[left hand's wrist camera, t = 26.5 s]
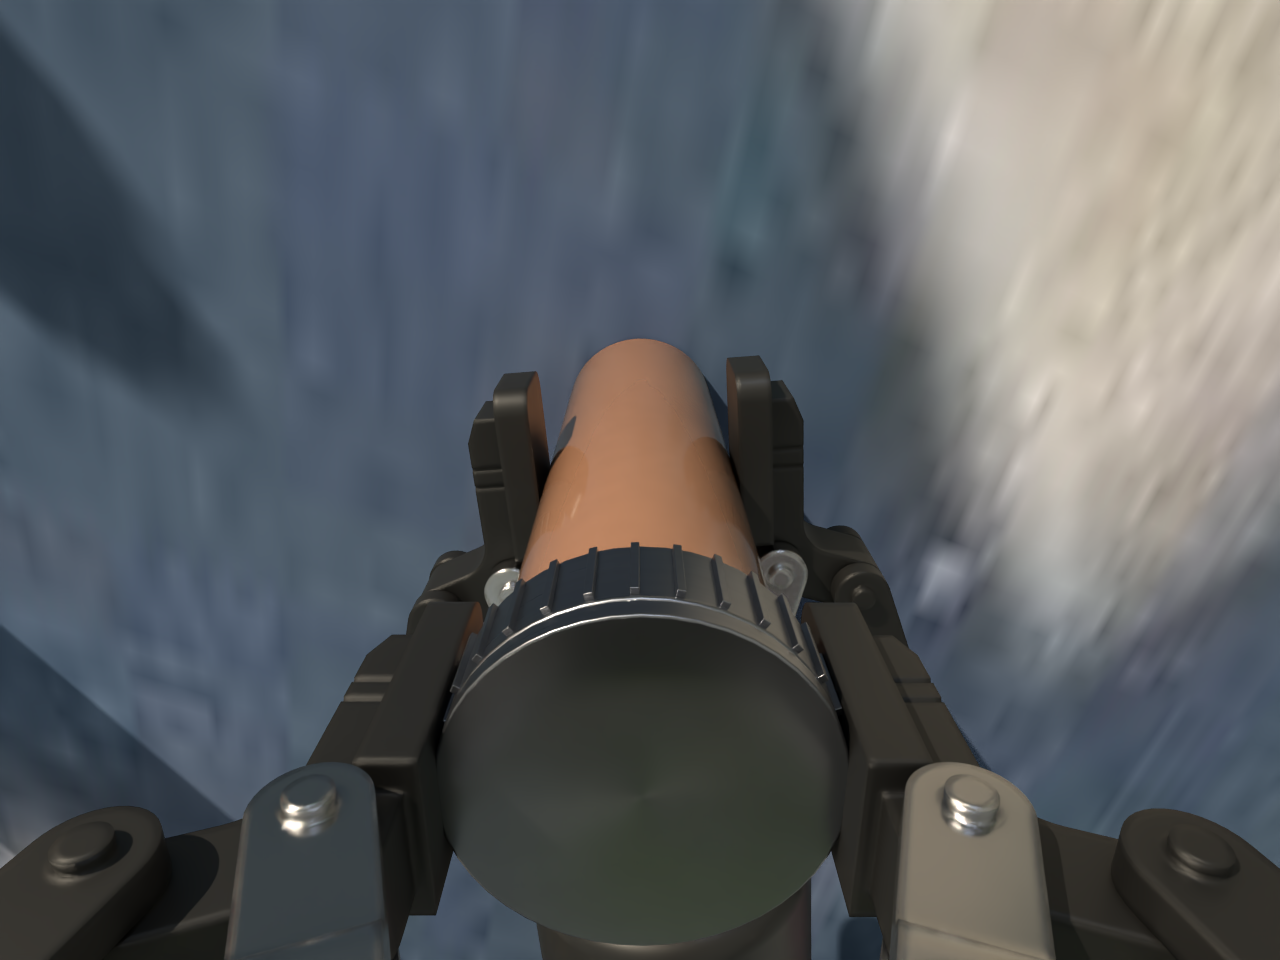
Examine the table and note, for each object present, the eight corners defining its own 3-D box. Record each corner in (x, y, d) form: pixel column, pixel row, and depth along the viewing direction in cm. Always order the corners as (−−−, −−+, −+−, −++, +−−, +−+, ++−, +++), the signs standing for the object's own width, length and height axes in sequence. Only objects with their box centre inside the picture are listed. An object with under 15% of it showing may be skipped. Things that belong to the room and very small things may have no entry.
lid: (411, 786, 12) (375, 887, 10) (527, 481, 10) (507, 543, 8) (733, 885, 12) (747, 992, 11) (893, 616, 11) (939, 697, 9)
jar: (647, 499, 26) (656, 920, 11) (541, 414, 25) (409, 762, 10) (740, 401, 24) (877, 736, 10) (633, 308, 23) (624, 536, 9)
